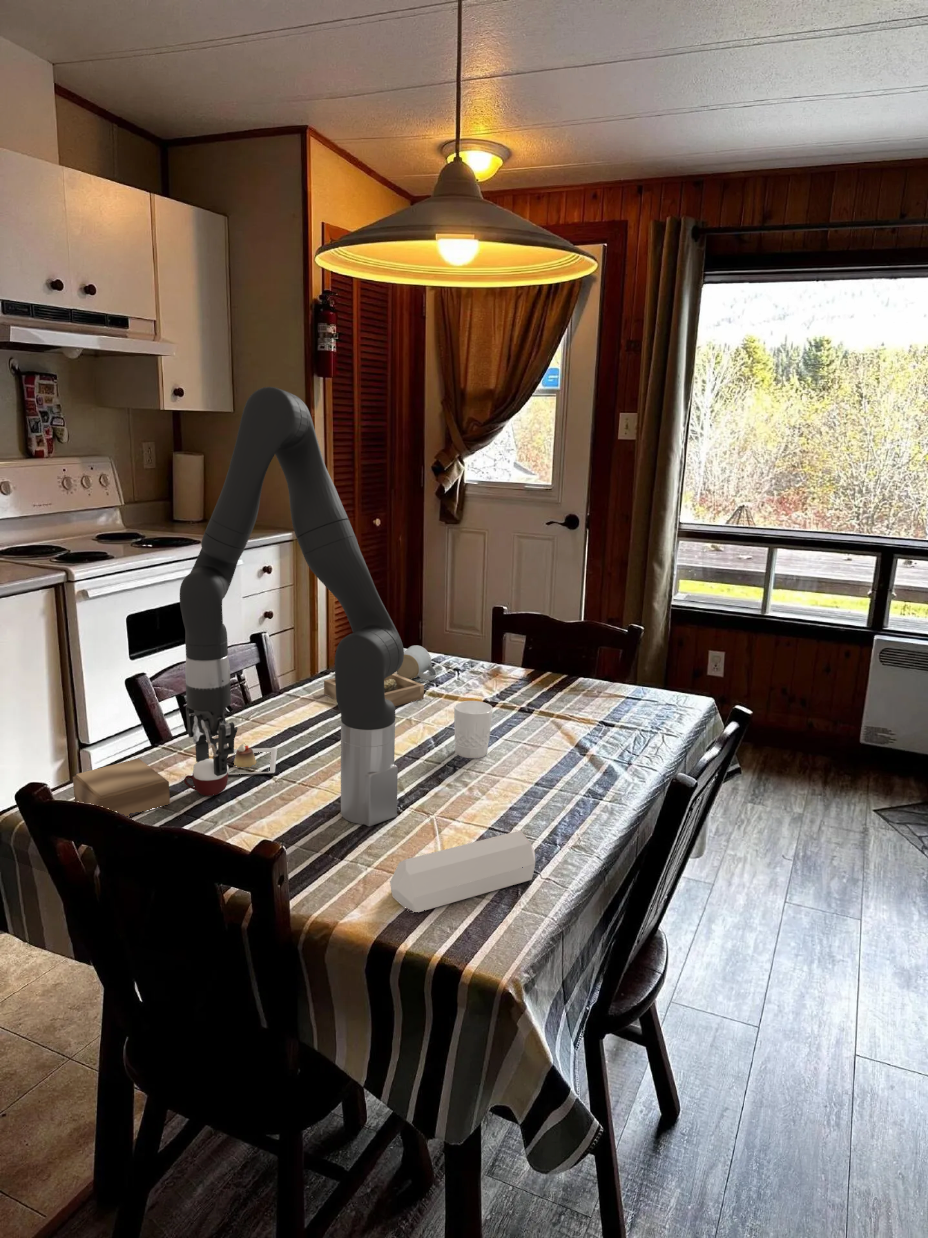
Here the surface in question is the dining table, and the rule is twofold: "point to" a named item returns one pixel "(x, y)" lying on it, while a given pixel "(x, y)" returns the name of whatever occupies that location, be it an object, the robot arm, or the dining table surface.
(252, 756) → the dessert
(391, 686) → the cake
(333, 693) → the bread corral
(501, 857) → the crystal
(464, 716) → the white cup
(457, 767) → the dining table surface
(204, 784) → the cocoa
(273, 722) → the dining table surface
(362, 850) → the dining table surface
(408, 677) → the ceramic mug
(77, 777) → the walnut pedestal
